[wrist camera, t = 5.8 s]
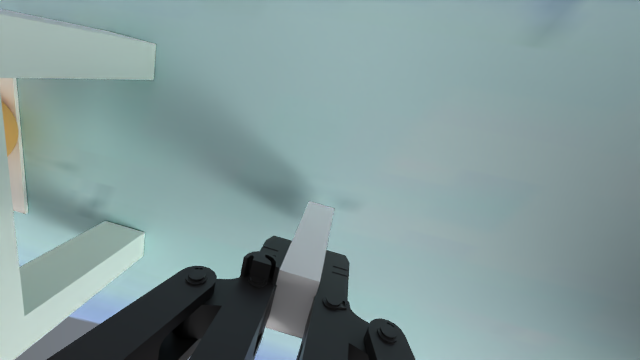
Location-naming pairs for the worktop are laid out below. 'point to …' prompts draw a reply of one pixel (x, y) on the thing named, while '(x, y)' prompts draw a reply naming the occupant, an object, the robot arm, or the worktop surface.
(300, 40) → the worktop surface
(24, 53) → the bridge
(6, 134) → the ball
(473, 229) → the worktop surface
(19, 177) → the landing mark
